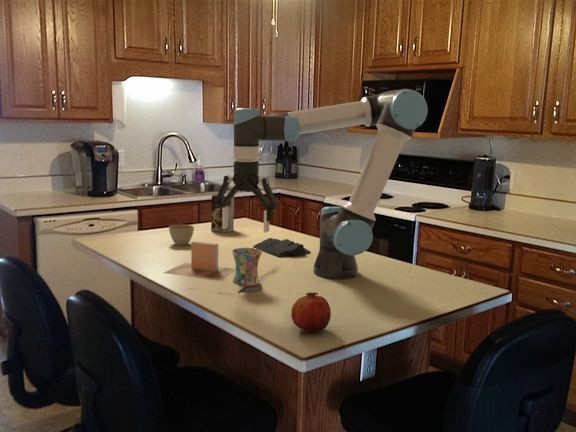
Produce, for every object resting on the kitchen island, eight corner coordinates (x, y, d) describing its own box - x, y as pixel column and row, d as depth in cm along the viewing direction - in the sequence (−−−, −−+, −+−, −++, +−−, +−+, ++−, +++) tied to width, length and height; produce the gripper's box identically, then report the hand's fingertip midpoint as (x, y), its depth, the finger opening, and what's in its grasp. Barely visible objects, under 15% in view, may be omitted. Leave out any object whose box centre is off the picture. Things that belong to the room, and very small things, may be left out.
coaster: (267, 284, 188) (267, 282, 188) (253, 294, 178) (253, 292, 177) (235, 280, 191) (235, 278, 191) (220, 289, 181) (220, 287, 181)
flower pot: (199, 243, 241) (199, 226, 239) (182, 248, 232) (182, 230, 231) (180, 240, 246) (180, 223, 245) (163, 244, 238) (163, 227, 236)
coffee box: (210, 231, 265) (210, 195, 263) (214, 228, 272) (215, 193, 269) (230, 232, 264) (230, 196, 261) (234, 229, 270) (234, 194, 267)
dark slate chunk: (280, 244, 247) (280, 232, 246) (313, 255, 229) (314, 243, 229) (249, 248, 238) (249, 236, 237) (281, 260, 220) (281, 247, 220)
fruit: (312, 342, 143) (314, 302, 141) (282, 331, 149) (283, 292, 147) (339, 330, 150) (341, 292, 149) (309, 320, 157) (310, 284, 155)
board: (237, 273, 199) (237, 269, 199) (219, 284, 186) (219, 280, 186) (184, 266, 205) (184, 262, 205) (163, 277, 192) (163, 272, 192)
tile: (218, 270, 197) (218, 243, 196) (215, 271, 195) (215, 244, 194) (193, 266, 200) (194, 240, 198) (191, 268, 198) (191, 242, 197)
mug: (232, 279, 190) (233, 247, 188) (261, 280, 190) (262, 248, 188) (229, 290, 178) (230, 256, 176) (260, 291, 178) (261, 257, 176)
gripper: (289, 161, 177) (288, 231, 181) (214, 157, 185) (214, 224, 189) (281, 163, 170) (279, 235, 174) (202, 159, 178) (203, 228, 182)
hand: (245, 230), depth 181 cm, fingers open, 13 cm apart
